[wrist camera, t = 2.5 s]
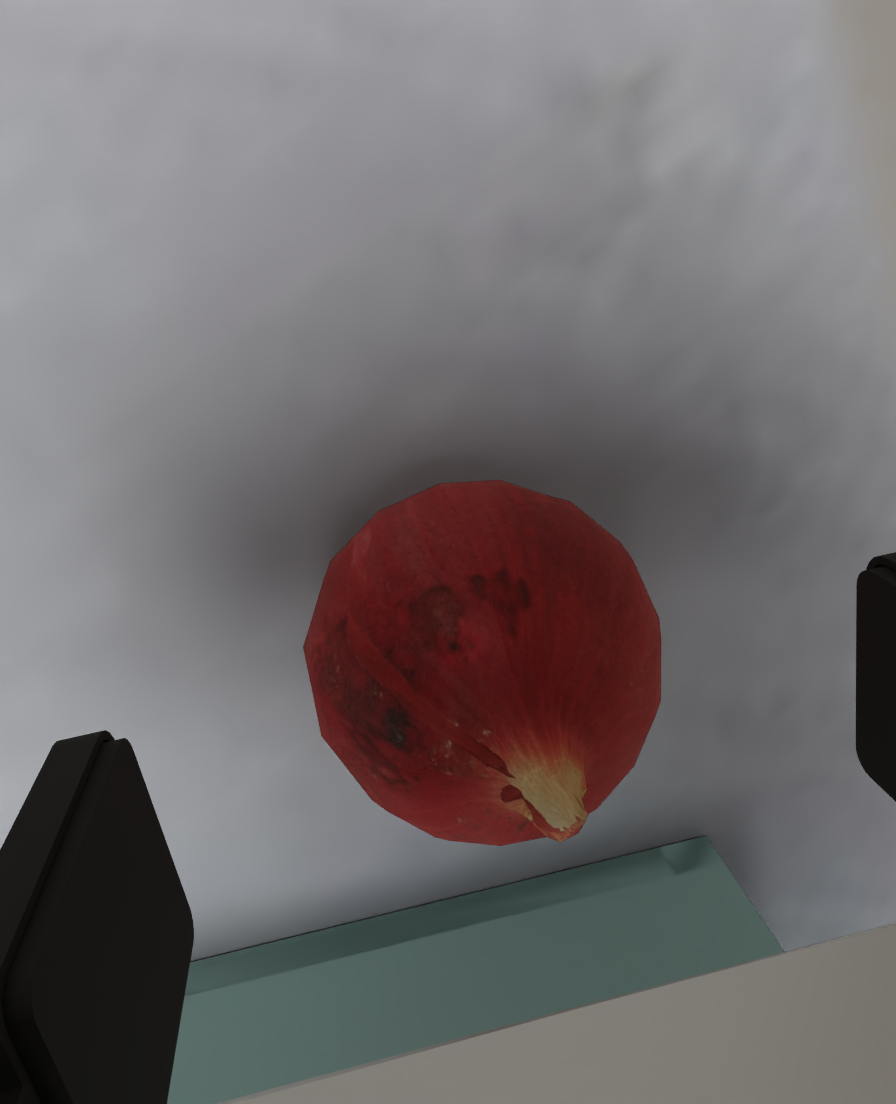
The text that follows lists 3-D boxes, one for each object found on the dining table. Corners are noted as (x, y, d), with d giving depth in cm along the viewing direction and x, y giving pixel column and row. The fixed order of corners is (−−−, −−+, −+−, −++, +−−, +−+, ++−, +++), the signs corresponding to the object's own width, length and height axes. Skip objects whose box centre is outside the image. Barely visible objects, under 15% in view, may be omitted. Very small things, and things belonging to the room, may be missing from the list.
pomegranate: (278, 672, 18) (251, 966, 10) (350, 406, 16) (378, 529, 9) (535, 725, 19) (673, 1019, 12) (624, 484, 18) (849, 646, 10)
